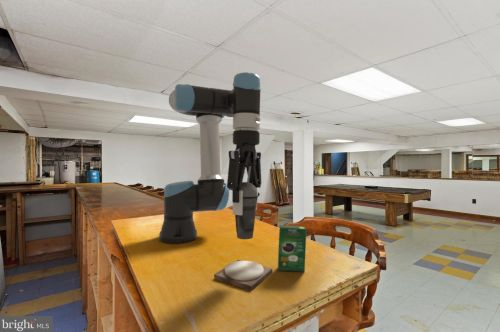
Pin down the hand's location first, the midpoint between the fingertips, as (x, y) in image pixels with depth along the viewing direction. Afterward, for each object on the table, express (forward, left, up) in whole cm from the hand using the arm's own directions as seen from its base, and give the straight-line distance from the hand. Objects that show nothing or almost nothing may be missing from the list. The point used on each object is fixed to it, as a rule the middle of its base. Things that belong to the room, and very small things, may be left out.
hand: (245, 211), depth 70 cm
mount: (0, 0, -18) cm, 18 cm away
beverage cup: (0, 0, -7) cm, 7 cm away
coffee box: (+10, +11, -18) cm, 24 cm away
